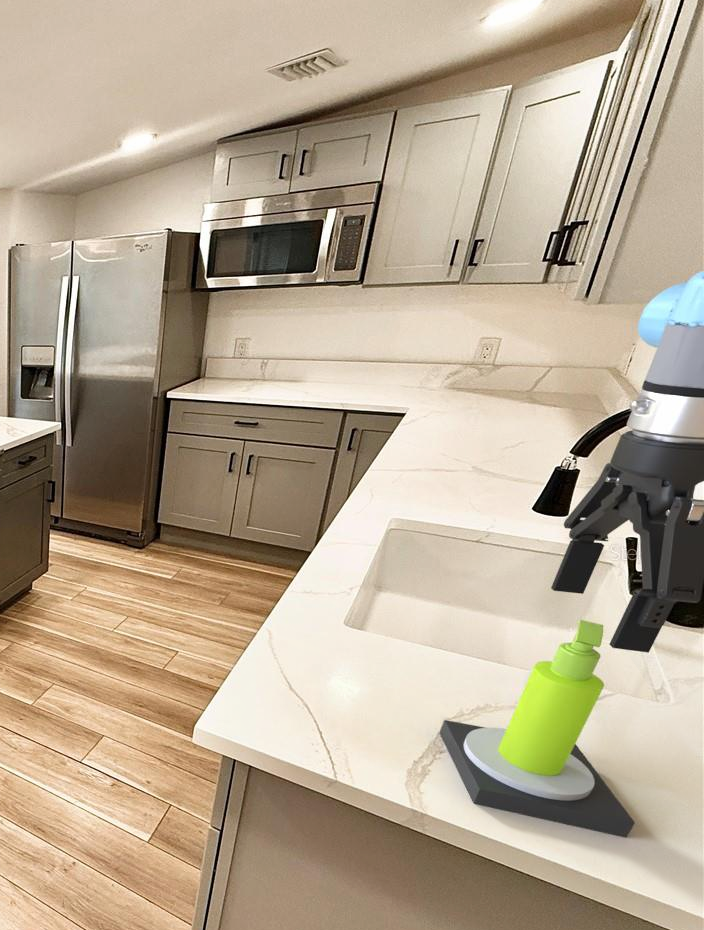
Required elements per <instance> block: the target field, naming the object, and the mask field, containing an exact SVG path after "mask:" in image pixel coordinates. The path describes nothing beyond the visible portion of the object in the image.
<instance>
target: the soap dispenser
mask: <svg viewBox="0 0 704 930" xmlns="http://www.w3.org/2000/svg"><path fill="white" fill-rule="evenodd" d="M603 636H604V624H600V623H596V622H592V621H588V620H583V619H579V621H578V623H577V629H576V633H575V636H574V637H573V640H572V642H563V643H560V644H559V646H558V648H557V650H556V652H555V654H554V656H553V659H552V660H551V661H549V660H547V661H546V660H544V661H539V662H536V663H535V664H534V666H533V668H532V670H531V672H530V675H529V677H528V680H527V682H526V684H525V686H524V688H523V690H522V693H521V695H520V698H519V700H518V702H517V705H516V706H515V709H514V711H513V714H512V716H511V718H510V721H509V723H508V725H507V727H506V729H507V730H506V732H505V734H504V736H503V739H502V741H501V743H500V746H499V753H500V754H501V755H502V757H503V758H504V759H506V760H507V761H508V762H510V763H511V764H513V765H515V766H517V767H518V768H521V769H523V770H525V771H528V772H531V773H535V774H539V775H545V776H554V775H558V774H560V773H561V771H562V769H563V767H564V765H565V763H566V761H567V759H568V757H569V755H570V753H571V751H572V749H573V747H574V745H575V744H576V743H577V741H578V739H579V737H580V736H581V733H582V731H583V730H584V727H585V726H586V724H587V722H588V719H589V717H590V715H591V713H592V711H593V709H594V708H595V705H596V703H597V701H598V699H599V697H600V696H601V693H602V692H603V689H604V687H605V684H604V682H603V680H602V679H601V678H600V677H599V676H597V675H596V674H594V671H595V669H596V667H597V665H598V663H599V661H600V659H601V653H600V652H599V651H597V650H596V649H594V647H595V648H600V647H601V646H602V641H603Z"/></svg>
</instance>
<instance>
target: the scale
mask: <svg viewBox="0 0 704 930" xmlns="http://www.w3.org/2000/svg"><path fill="white" fill-rule="evenodd" d="M506 730H507V728H503V727H502V728H500V727H485V726H479V725H473V724H469V723H464V722H457V721H452V720H447V719H444V720H443V722H442V725H441V728H440V729H439V736H440V738H441V740H442V741H443V743H444V746H445V747H446V750H447V752H448V755H449V756H450V759H451V760H452V762H453V764H454V766H455V769H456V770H457V772H458V774H459V777H460V779H461V780H462V783H463V785H464V787H465V789H466V791H467V793H468V795H469V797H470V799H471V802H472V803H473V804H475V805H478V806H482V807H483V806H484V807H487V808H492V809H497V810H501V811H506V812H510V813H516V814H519V815H524V816H528V817H532V818H537V819H542V820H546V821H551V822H555V823H559V824H565V825H568V826H573V827H577V828H581V829H586V830H591V831H596V832H599V833H603V834H604V833H605V834H608V835H614V836H616V837H617V836H618V837H623V838H628V836H629V834H630V833H631V831H632V829H633V827H634V826H635V825H636V822H635V820H634V819H633V818H632V817H631V815H630V814H629V813H628V811H627V810H626V809H625V807H624V806H623V805H622V803H621V802H620V800H618V798H617V797H616V795H615V794H614V793H613V791H612V790H611V789H610V787H609V786H608V785H607V783H606V782H605V781H604V780H603V778H602V777H601V776H600V774H599V773H598V772H597V770H596V769H595V768H594V767H593V765H592V764H591V762H590V761H589V760H588V758H587V757H586V755H584V753H583V752H582V750H581V749H580V747H579V746H578V745H577V744H576V743H575V745H574V747H573V749H572V751H571V753H570V755H569V757H568V759H567V761H566V763H565V765H564V767H563V769H562V771H561V773H560V774H558V775H554V776H545V775H539V774H535V773H531V772H528V771H525V770H523V769H521V768H518V767H517V766H515V765H513V764H511V763H510V762H508V761H507V760H506V759H504V758H503V757H502V755H501V754H500V753H499V746H500V743H501V741H502V739H503V736H504V734H505V732H506Z"/></svg>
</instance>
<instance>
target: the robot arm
mask: <svg viewBox="0 0 704 930" xmlns="http://www.w3.org/2000/svg"><path fill="white" fill-rule="evenodd" d="M637 323H638V324H637V331H638V334H639V337H640V338H641V340H642V341H643V342H644V343H645V344H647V345H648V346H651V347H653V348H656V350H655V353H654V356H653V358H652V361H651V362H650V365H649V368H648V371H647V373H646V375H645V378H644V381H643V383H642V385H641V388H640V391H639V393H638V396H637V399H636V400H633V401H631V402H630V404H629V409H630V411H631V412H630V415H629V417H628V419H627V422H626V426H627V427H628V428H629V429H630V430H628V431H626V432H624V433H622V434H621V435H620V438H619V439H618V442H617V443H616V447H615V449H614V450H613V454H612V456H611V458H610V461H609V462H608V463H606V464H605V465H604V468H603V469H602V471H601V473H600V475H599V477H598V479H597V481H596V482H595V483H594V484H593V486H591V488H590V489H589V490H588V492H587V493H586V494H585V496H583V498H582V499H581V500H580V501H579V502H578V504H577V505H576V506H575V507H574V509H573V510H572V511H571V512H570V513H569V515H568V517H567V518H565V520H564V523H563V527H564V529H568V530H569V529H570V530H569V533H568V537H569V539H570V541H569V544H568V545H567V548H566V551H565V552H564V556H563V557H562V560H561V562H560V565H559V567H558V570H557V573H556V575H555V577H554V580H553V582H552V585H551V587H550V589H551V590H552V591H553V592H561V593H573V594H582V595H583V594H584V593H585V591H586V588H587V586H588V584H589V581H590V579H591V577H592V575H593V572H594V570H595V569H596V566H597V563H598V562H599V559H600V556H601V554H602V552H603V550H604V548H605V544H603V543H602V542H609V535H610V534H611V533H612V532H614V531H615V530H616V529H618V528H620V526H623V525H624V524H625V523H626V522H628V521H629V522H630V523H631V524H632V530H633V532H634V533H636V534H637V535H639V541H640V542H639V543H640V559H641V561H640V562H641V579H642V580H641V582H642V583H641V584H642V587H640V588H638V589H634V590H632V595H631V598H630V599H629V602H628V604H627V606H626V608H625V610H624V612H623V615H622V617H621V619H620V620H619V624H618V625H617V627H616V629H615V631H614V633H613V635H612V638H611V639H610V642H609V646H610V647H611V648H612V649H618V650H624V651H633V652H641V653H650V651H651V649H652V647H653V645H654V643H655V641H656V639H657V637H658V635H659V633H660V631H661V629H662V627H663V626H664V625H665V623H666V620H667V619H668V617H669V615H670V613H671V611H672V609H673V607H674V605H675V604H676V603H677V602H684V603H694V604H697V603H699V602H700V601H701V599H702V596H703V587H704V499H696V498H694V494H695V490H696V486H697V485H698V484H701V483H703V482H704V270H702V271H699V272H697V273H696V274H694V275H693V276H692V277H691V278H690V279H689V280H688V281H684V282H681V283H677V284H675V285H672V286H670V287H667V288H666V289H664V290H663V291H661V292H660V293H659V294H656V296H655V297H653V298H652V299H651V300H650V301H649V302H648V303H647V305H645V307H644V309H643V311H642V312H641V315H640V316H639V320H638V322H637Z"/></svg>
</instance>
